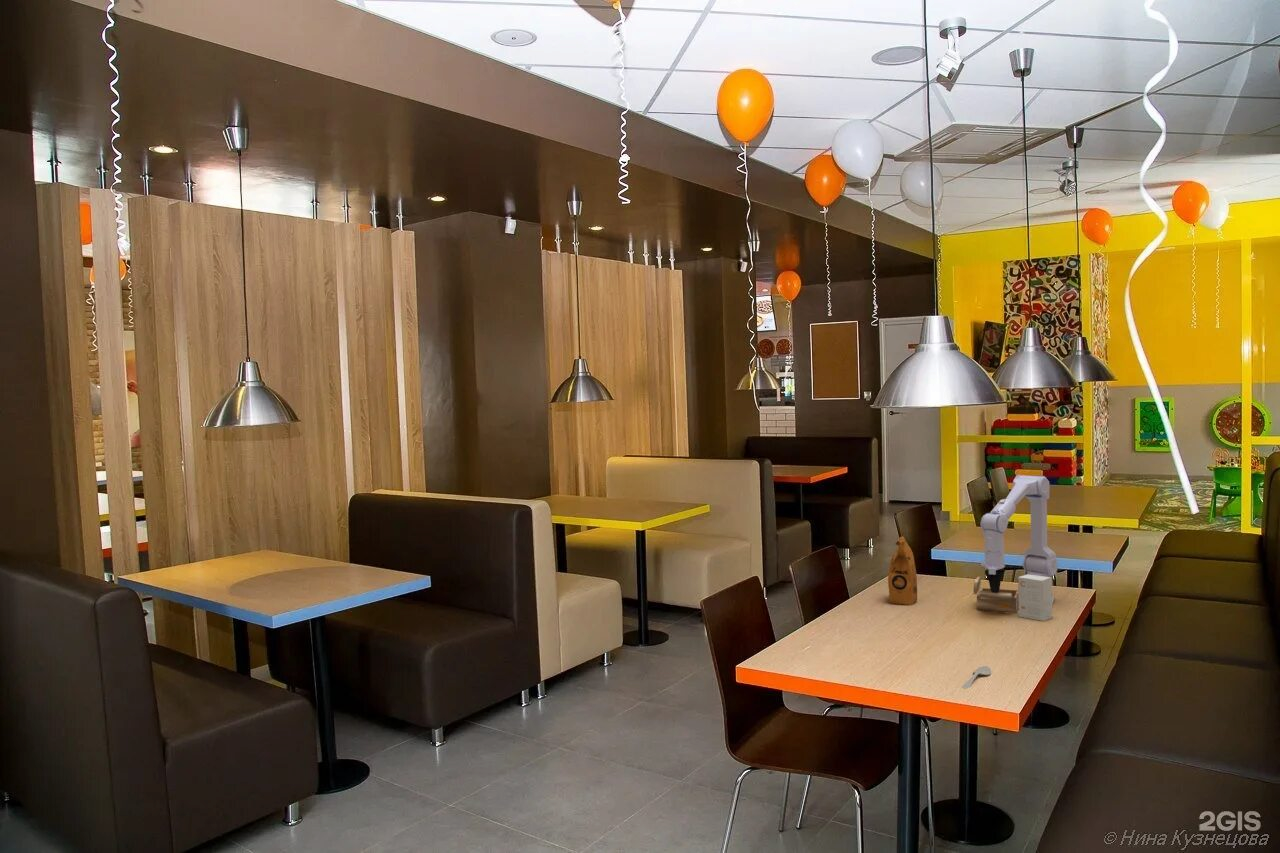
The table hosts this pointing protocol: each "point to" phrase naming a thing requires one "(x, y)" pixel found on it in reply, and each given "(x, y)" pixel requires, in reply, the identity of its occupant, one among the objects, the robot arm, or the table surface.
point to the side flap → (977, 585)
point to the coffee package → (902, 575)
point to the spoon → (977, 672)
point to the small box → (1035, 597)
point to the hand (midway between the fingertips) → (995, 592)
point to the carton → (999, 602)
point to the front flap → (996, 595)
